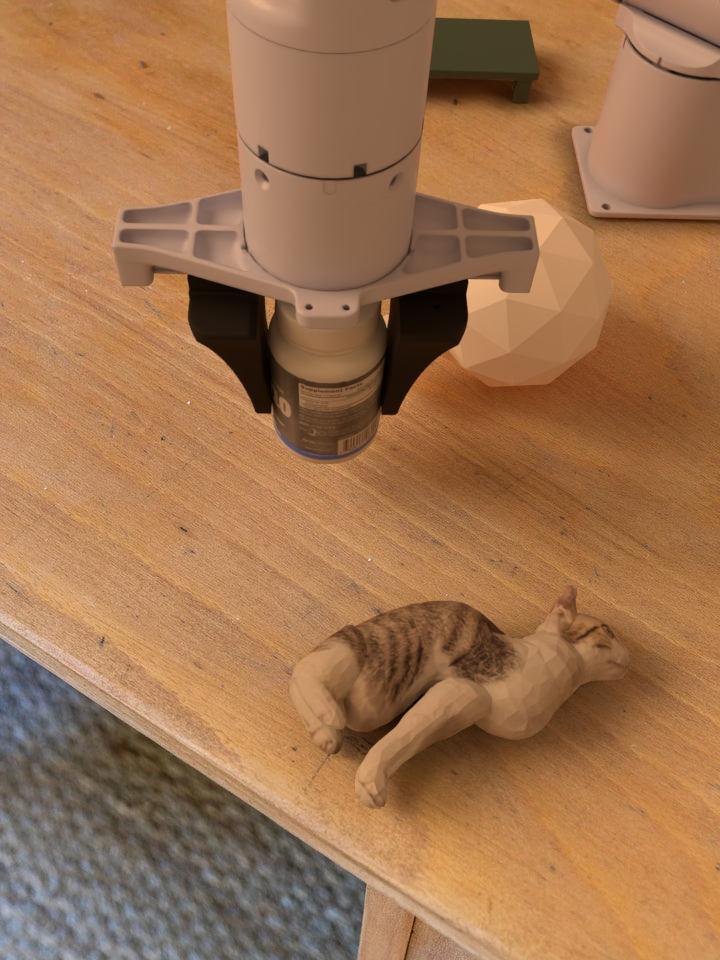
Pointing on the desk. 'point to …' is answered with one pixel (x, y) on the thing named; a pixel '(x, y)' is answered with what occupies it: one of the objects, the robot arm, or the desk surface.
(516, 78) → the green footed tray
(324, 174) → the robot arm
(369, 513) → the desk surface
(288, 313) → the pill bottle
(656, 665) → the desk surface
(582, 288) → the perfume bottle
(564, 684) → the figurine
